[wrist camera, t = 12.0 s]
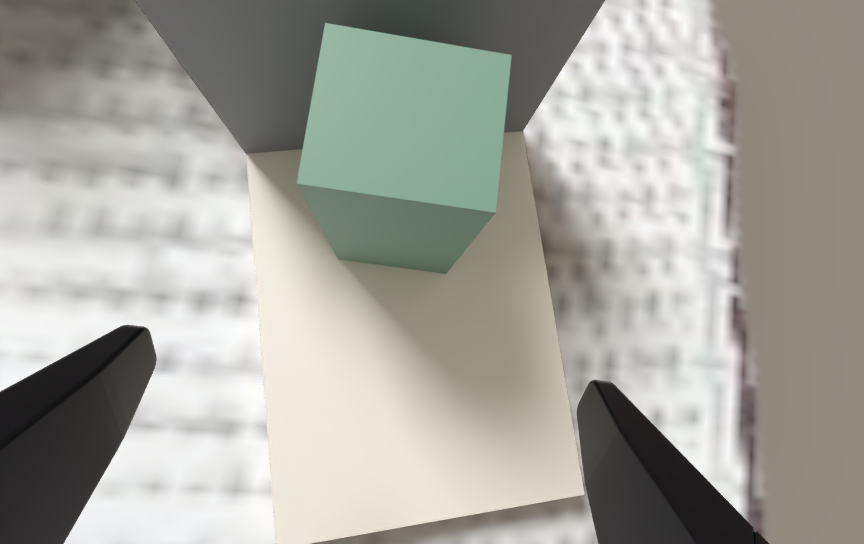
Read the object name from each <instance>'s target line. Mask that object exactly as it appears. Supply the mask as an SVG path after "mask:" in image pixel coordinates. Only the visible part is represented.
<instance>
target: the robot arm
mask: <svg viewBox="0 0 864 544" xmlns="http://www.w3.org/2000/svg"><path fill="white" fill-rule="evenodd" d="M155 365H156V353H155V349H154V345H153V342H152V338H151V334H150V331H149V330H148V329H147V328H146V327H142V326H133V325H124V326H121V327H119V328H117V329H115V330H113V331H111V332H110V333H108V334H106V335H104V336H102V337H100V338H98V339H97V340H95V341H93V342H91V343H89V344H87V345H86V346H84V347H82V348H80V349H78V350H76V351H74V352H73V353H71V354H69V355H67V356H65V357H63V358H62V359H60V360H58V361H56V362H54V363H52V364H50V365H49V366H47V367H45V368H43V369H41V370H39V371H38V372H36V373H34V374H32V375H30V376H28V377H26V378H25V379H23V380H21V381H19V382H17V383H15V384H14V385H12V386H10V387H8V388H6V389H4V390H2V391H1V392H0V544H63V543H64V542H65V540H66V538H67V537H68V535H69V533H70V531H71V530H72V528H73V526H74V524H75V523H76V521H77V519H78V517H79V516H80V514H81V512H82V510H83V509H84V507H85V505H86V504H87V502H88V500H89V498H90V497H91V495H92V493H93V491H94V490H95V488H96V486H97V484H98V483H99V481H100V479H101V477H102V476H103V474H104V472H105V471H106V469H107V467H108V465H109V464H110V462H111V460H112V458H113V457H114V455H115V453H116V451H117V450H118V448H119V446H120V444H121V442H122V440H123V439H124V436H125V434H126V432H127V430H128V428H129V426H130V424H131V421H132V419H133V417H134V414H135V412H136V410H137V408H138V405H139V403H140V401H141V398H142V396H143V394H144V392H145V389H146V387H147V385H148V382H149V380H150V378H151V376H152V373H153V371H154V369H155ZM577 420H578V429H579V437H580V446H581V454H582V463H583V471H584V479H585V485H586V490H587V495H588V500H589V504H590V508H591V513H592V517H593V522H594V526H595V530H596V535H597V539H598V543H599V544H769V543H768V542H767V541H766V540H765V539H764V538H763V537H762V536H761V535H760V534H759V533H758V532H757V531H754V529H753V527H752V526H751V525H750V524H749V523H748V522H747V521H746V520H745V518H744V517H743V516H742V515H741V514H740V513H739V512H738V511H737V510H736V509H735V508H734V507H733V506H732V505H731V504H730V503H729V502H728V501H727V500H726V499H725V498H724V497H723V496H722V495H721V494H720V493H719V492H718V491H717V490H716V489H715V488H714V487H713V486H712V485H711V484H710V482H709V481H708V480H707V479H706V478H705V477H704V476H703V475H702V474H701V473H700V472H699V471H698V470H697V469H696V468H695V467H694V466H693V465H692V464H691V463H690V462H689V461H688V460H687V459H686V458H685V457H684V456H683V455H682V454H681V453H680V452H679V451H678V450H677V449H676V448H675V447H674V445H673V444H672V443H671V442H670V441H669V440H668V439H667V438H666V437H665V436H664V435H663V434H662V433H661V432H660V431H659V430H658V429H657V428H656V427H655V426H654V425H653V424H652V423H651V422H650V421H649V420H648V419H647V418H646V417H645V416H644V415H643V414H642V413H641V412H640V411H639V410H638V408H637V407H636V406H635V405H634V404H633V403H632V402H631V401H630V400H629V399H628V398H627V397H626V396H625V395H624V394H623V393H622V392H621V391H620V390H619V389H618V388H617V387H616V386H615V385H614V384H613V383H611V382H608V381H600V380H592V381H591V382H590V383H589V384H588V386H587V388H586V390H585V392H584V394H583V396H582V398H581V400H580V402H579V404H578V407H577Z"/></svg>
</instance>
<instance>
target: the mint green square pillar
mask: <svg viewBox="0 0 864 544" xmlns="http://www.w3.org/2000/svg"><path fill="white" fill-rule="evenodd" d="M511 56H512V55H508V54H503V53H497V52H491V51H485V50H479V49H474V48H468V47H462V46H456V45H450V44H445V43H439V42H433V41H427V40H422V39H416V38H410V37H404V36H398V35H393V34H387V33H381V32H375V31H369V30H364V29H358V28H352V27H346V26H340V25H335V24H329V23H325V27H324V32H323V38H322V44H321V49H320V55H319V60H318V66H317V71H316V77H315V83H314V88H313V94H312V99H311V105H310V111H309V116H308V122H307V127H306V133H305V139H304V144H303V150H302V155H301V161H300V167H299V172H298V178H297V183H296V184H297V185H298V187H299V189H300V191H301V193H302V195H303V196H304V198H305V200H306V202H307V204H308V205H309V207H310V209H311V211H312V213H313V214H314V216H315V218H316V220H317V222H318V224H319V225H320V227H321V229H322V231H323V233H324V234H325V236H326V238H327V240H328V242H329V243H330V245H331V247H332V249H333V251H334V253H335V254H336V256H337V258H338V259H339V260H347V261H354V262H362V263H369V264H376V265H384V266H391V267H399V268H406V269H413V270H421V271H428V272H436V273H443V274H447V272H448V271H449V270H450V269H451V267H452V266H453V265H454V264H455V262H456V261H457V260H458V259H459V258H460V256H461V255H462V254H463V253H464V251H465V250H466V249H467V248H468V246H469V245H470V244H471V243H472V242H473V240H474V239H475V238H476V237H477V235H478V234H479V233H480V232H481V230H482V229H483V228H484V227H485V225H486V224H487V223H488V222H489V221H490V219H491V218H492V217H493V216H494V214H495V213H496V206H497V196H498V186H499V176H500V166H501V156H502V146H503V136H504V126H505V116H506V106H507V96H508V86H509V76H510V66H511Z"/></svg>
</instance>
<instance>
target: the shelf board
mask: <svg viewBox="0 0 864 544" xmlns="http://www.w3.org/2000/svg"><path fill="white" fill-rule="evenodd" d="M604 1H605V0H135V2H136V3H137V4H138V6H139V7H140V9H141V10H142V11H143V13H144V14H145V15H146V17H147V18H148V20H149V21H150V22H151V24H152V25H153V26H154V28H155V29H156V31H157V32H158V33H159V35H160V36H161V37H162V39H163V40H164V42H165V43H166V44H167V46H168V47H169V48H170V50H171V51H172V53H173V54H174V55H175V57H176V58H177V59H178V61H179V62H180V64H181V65H182V66H183V68H184V69H185V70H186V72H187V73H188V75H189V76H190V77H191V79H192V80H193V81H194V83H195V84H196V86H197V87H198V88H199V90H200V91H201V92H202V94H203V95H204V97H205V98H206V99H207V101H208V102H209V103H210V105H211V106H212V108H213V109H214V110H215V112H216V113H217V114H218V116H219V117H220V119H221V120H222V121H223V123H224V124H225V125H226V127H227V128H228V130H229V131H230V132H231V134H232V135H233V136H234V138H235V139H236V141H237V142H238V143H239V145H240V146H241V147H242V149H243V150H244V152H245V153H246V159H247V172H248V185H249V198H250V212H251V225H252V238H253V251H254V264H255V277H256V290H257V303H258V316H259V329H260V343H261V356H262V369H263V382H264V395H265V408H266V421H267V434H268V447H269V460H270V473H271V487H272V500H273V513H274V526H275V539H276V544H311V543H316V542H322V541H328V540H333V539H339V538H345V537H350V536H356V535H361V534H367V533H373V532H378V531H384V530H389V529H395V528H401V527H406V526H412V525H418V524H423V523H429V522H434V521H440V520H446V519H451V518H457V517H462V516H468V515H474V514H479V513H485V512H491V511H496V510H502V509H507V508H513V507H519V506H524V505H530V504H535V503H541V502H547V501H552V500H558V499H564V498H569V497H575V496H580V495H585V494H584V488H583V482H582V476H581V470H580V464H579V458H578V453H577V447H576V441H575V435H574V429H573V423H572V417H571V411H570V405H569V400H568V394H567V388H566V382H565V376H564V370H563V364H562V358H561V352H560V347H559V341H558V335H557V329H556V323H555V317H554V311H553V305H552V299H551V294H550V288H549V282H548V276H547V270H546V264H545V258H544V252H543V246H542V241H541V235H540V229H539V223H538V217H537V211H536V205H535V199H534V193H533V188H532V182H531V176H530V170H529V164H528V158H527V152H526V146H525V141H524V135H523V130H524V128H525V127H526V125H527V124H528V122H529V120H530V119H531V117H532V116H533V114H534V113H535V111H536V109H537V108H538V106H539V105H540V103H541V101H542V100H543V98H544V97H545V95H546V93H547V92H548V90H549V89H550V87H551V85H552V84H553V82H554V81H555V79H556V78H557V76H558V74H559V73H560V71H561V70H562V68H563V66H564V65H565V63H566V62H567V60H568V58H569V57H570V55H571V54H572V52H573V51H574V49H575V47H576V46H577V44H578V43H579V41H580V39H581V38H582V36H583V35H584V33H585V31H586V30H587V28H588V27H589V25H590V23H591V22H592V20H593V19H594V17H595V16H596V14H597V12H598V11H599V9H600V8H601V6H602V4H603V3H604ZM325 23H329V24H335V25H340V26H346V27H352V28H358V29H364V30H369V31H375V32H381V33H387V34H393V35H398V36H404V37H410V38H416V39H422V40H427V41H433V42H439V43H445V44H450V45H456V46H462V47H468V48H474V49H479V50H485V51H491V52H497V53H503V54H508V55H512V56H511V66H510V76H509V86H508V96H507V106H506V116H505V126H504V136H503V146H502V156H501V166H500V176H499V186H498V196H497V206H496V213H495V214H494V216H493V217H492V218H491V219H490V221H489V222H488V223H487V224H486V225H485V227H484V228H483V229H482V230H481V232H480V233H479V234H478V235H477V237H476V238H475V239H474V240H473V242H472V243H471V244H470V245H469V246H468V248H467V249H466V250H465V251H464V253H463V254H462V255H461V256H460V258H459V259H458V260H457V261H456V262H455V264H454V265H453V266H452V267H451V269H450V270H449V271H448V272H447V274H443V273H436V272H428V271H421V270H413V269H406V268H399V267H391V266H384V265H376V264H369V263H362V262H354V261H347V260H339V259H338V258H337V256H336V254H335V253H334V251H333V249H332V247H331V245H330V243H329V242H328V240H327V238H326V236H325V234H324V233H323V231H322V229H321V227H320V225H319V224H318V222H317V220H316V218H315V216H314V214H313V213H312V211H311V209H310V207H309V205H308V204H307V202H306V200H305V198H304V196H303V195H302V193H301V191H300V189H299V187H298V185H297V184H296V183H297V178H298V172H299V167H300V161H301V155H302V150H303V144H304V139H305V133H306V127H307V122H308V116H309V111H310V105H311V99H312V94H313V88H314V83H315V77H316V71H317V66H318V60H319V55H320V49H321V44H322V38H323V32H324V27H325Z"/></svg>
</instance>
